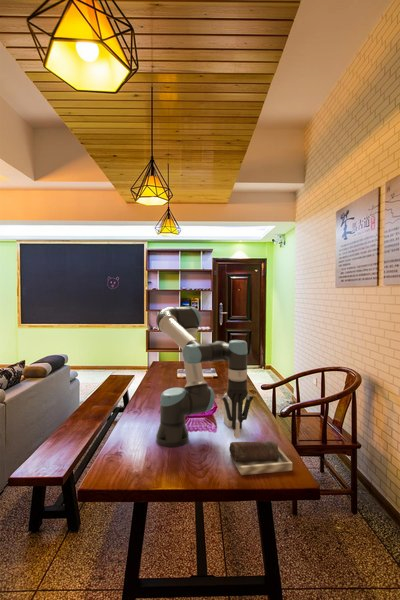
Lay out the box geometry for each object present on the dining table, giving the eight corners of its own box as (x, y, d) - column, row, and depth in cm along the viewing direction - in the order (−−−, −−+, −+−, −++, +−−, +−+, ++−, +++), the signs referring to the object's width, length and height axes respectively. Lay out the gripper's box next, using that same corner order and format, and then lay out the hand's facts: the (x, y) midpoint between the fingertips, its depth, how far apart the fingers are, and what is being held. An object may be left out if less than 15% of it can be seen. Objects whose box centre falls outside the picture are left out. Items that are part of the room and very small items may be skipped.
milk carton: (228, 427, 167) (228, 391, 167) (223, 422, 174) (224, 387, 173) (241, 426, 169) (241, 390, 169) (236, 420, 176) (236, 386, 175)
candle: (231, 465, 133) (278, 462, 135) (233, 457, 128) (282, 454, 131) (228, 447, 139) (273, 444, 141) (230, 438, 134) (277, 436, 137)
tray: (241, 475, 124) (241, 467, 124) (230, 455, 139) (230, 448, 139) (292, 470, 128) (292, 463, 128) (276, 451, 143) (276, 444, 143)
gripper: (224, 382, 126) (223, 442, 126) (256, 380, 128) (255, 440, 128) (219, 377, 133) (218, 433, 134) (250, 376, 135) (249, 431, 136)
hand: (236, 436), depth 131 cm, fingers closed
